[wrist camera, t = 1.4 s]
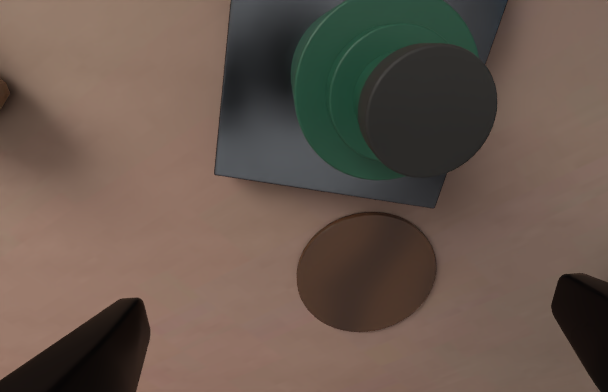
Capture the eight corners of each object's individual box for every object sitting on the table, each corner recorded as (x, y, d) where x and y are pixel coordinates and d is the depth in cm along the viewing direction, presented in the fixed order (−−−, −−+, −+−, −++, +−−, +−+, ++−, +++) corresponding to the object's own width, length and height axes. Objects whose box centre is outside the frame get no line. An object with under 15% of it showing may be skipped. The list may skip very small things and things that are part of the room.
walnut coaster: (453, 223, 23) (455, 226, 23) (411, 334, 26) (412, 338, 26) (311, 201, 22) (311, 204, 21) (286, 320, 25) (286, 324, 25)
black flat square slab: (498, -35, 18) (524, -44, 16) (422, 195, 22) (435, 209, 20) (246, -96, 16) (241, -113, 14) (220, 163, 21) (213, 175, 19)
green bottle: (435, 19, 16) (617, -5, 7) (398, 147, 19) (503, 248, 10) (303, -10, 16) (328, -75, 7) (281, 127, 18) (278, 216, 9)
